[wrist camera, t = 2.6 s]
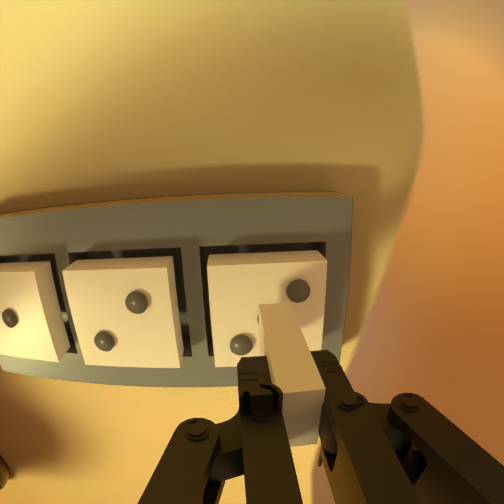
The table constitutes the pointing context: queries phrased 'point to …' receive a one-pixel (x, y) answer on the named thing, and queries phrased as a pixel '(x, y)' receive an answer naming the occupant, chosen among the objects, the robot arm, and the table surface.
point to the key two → (126, 311)
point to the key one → (30, 313)
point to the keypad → (180, 265)
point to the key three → (263, 298)
